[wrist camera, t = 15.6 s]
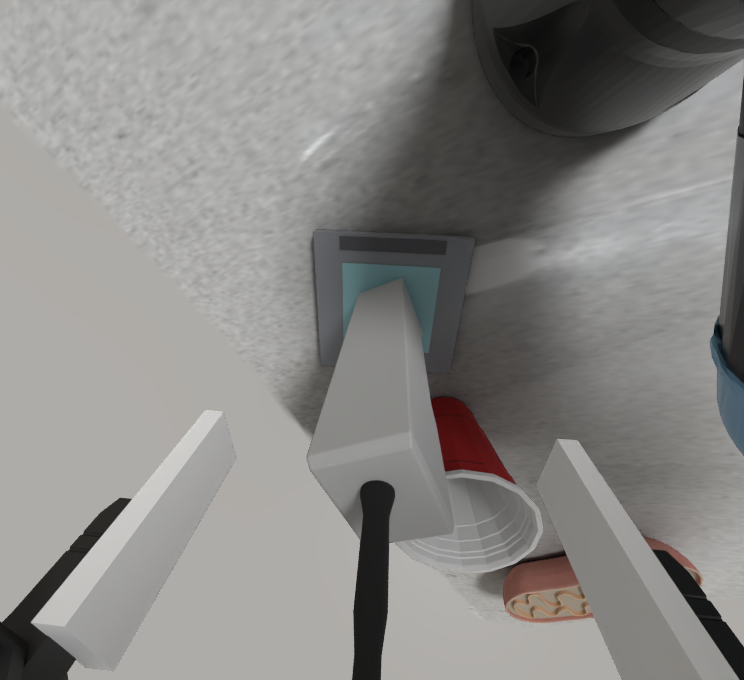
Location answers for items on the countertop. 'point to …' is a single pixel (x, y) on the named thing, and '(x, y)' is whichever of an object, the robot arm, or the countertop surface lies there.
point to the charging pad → (383, 265)
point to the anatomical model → (559, 588)
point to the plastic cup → (476, 502)
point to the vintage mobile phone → (381, 452)
